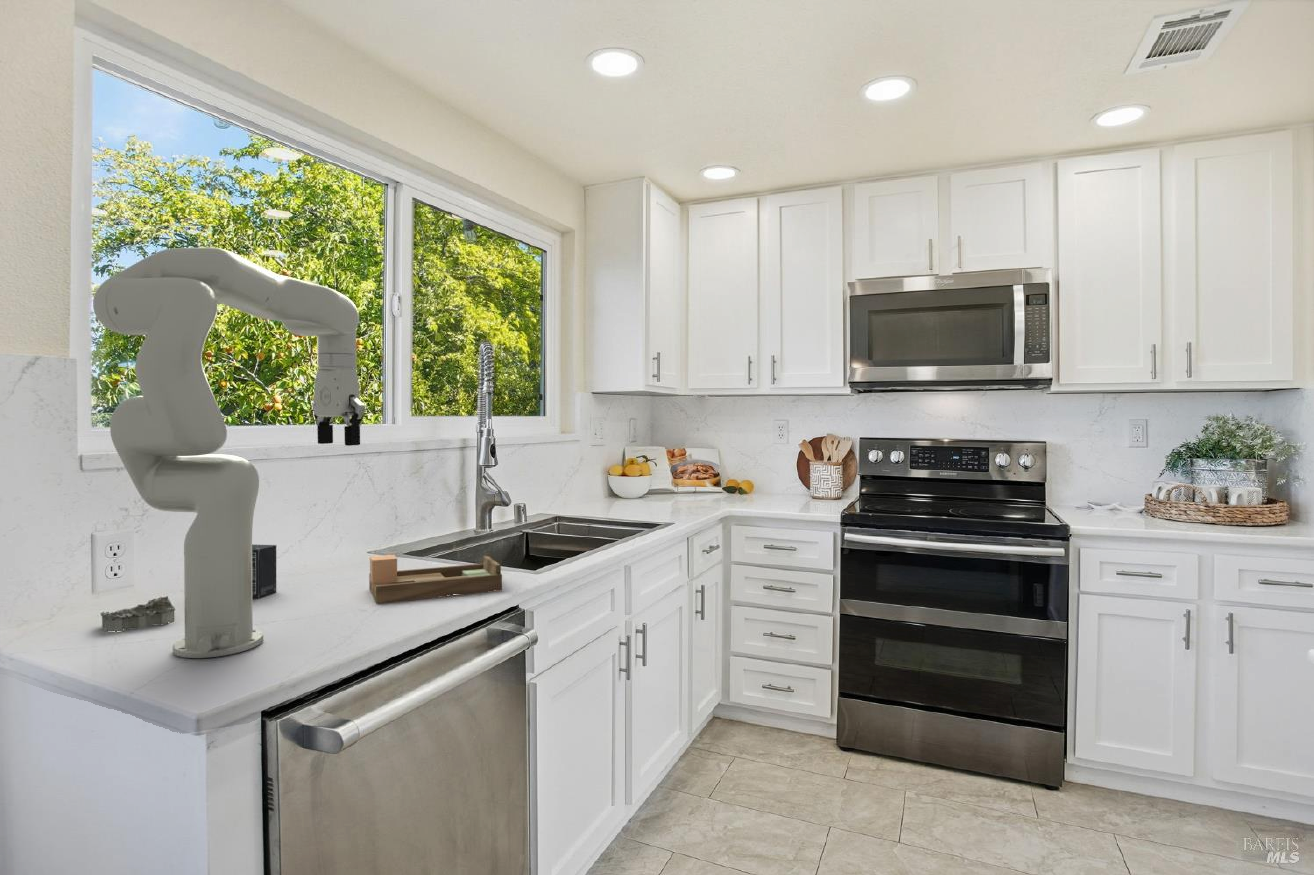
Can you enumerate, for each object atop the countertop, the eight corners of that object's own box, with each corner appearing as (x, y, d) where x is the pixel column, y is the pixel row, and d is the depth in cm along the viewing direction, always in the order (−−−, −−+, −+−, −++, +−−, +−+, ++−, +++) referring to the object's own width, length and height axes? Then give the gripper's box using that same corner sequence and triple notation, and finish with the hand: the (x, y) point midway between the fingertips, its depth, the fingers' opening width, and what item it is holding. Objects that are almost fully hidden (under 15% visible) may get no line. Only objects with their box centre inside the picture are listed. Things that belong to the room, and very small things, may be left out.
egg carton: (171, 616, 134) (171, 595, 134) (177, 625, 129) (177, 602, 129) (100, 626, 127) (100, 603, 127) (102, 636, 122) (103, 612, 122)
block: (397, 581, 153) (397, 558, 153) (372, 583, 150) (372, 560, 150) (394, 576, 157) (394, 554, 157) (370, 579, 155) (370, 556, 155)
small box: (278, 591, 153) (278, 543, 153) (259, 599, 147) (258, 549, 146) (233, 590, 154) (233, 542, 154) (211, 597, 148) (211, 547, 147)
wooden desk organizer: (501, 590, 156) (501, 565, 156) (376, 603, 144) (376, 576, 144) (486, 577, 168) (486, 554, 168) (369, 588, 156) (369, 564, 156)
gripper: (297, 363, 150) (298, 443, 150) (345, 361, 140) (346, 447, 141) (330, 365, 156) (331, 442, 157) (378, 363, 146) (379, 445, 147)
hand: (338, 444), depth 149 cm, fingers open, 9 cm apart
